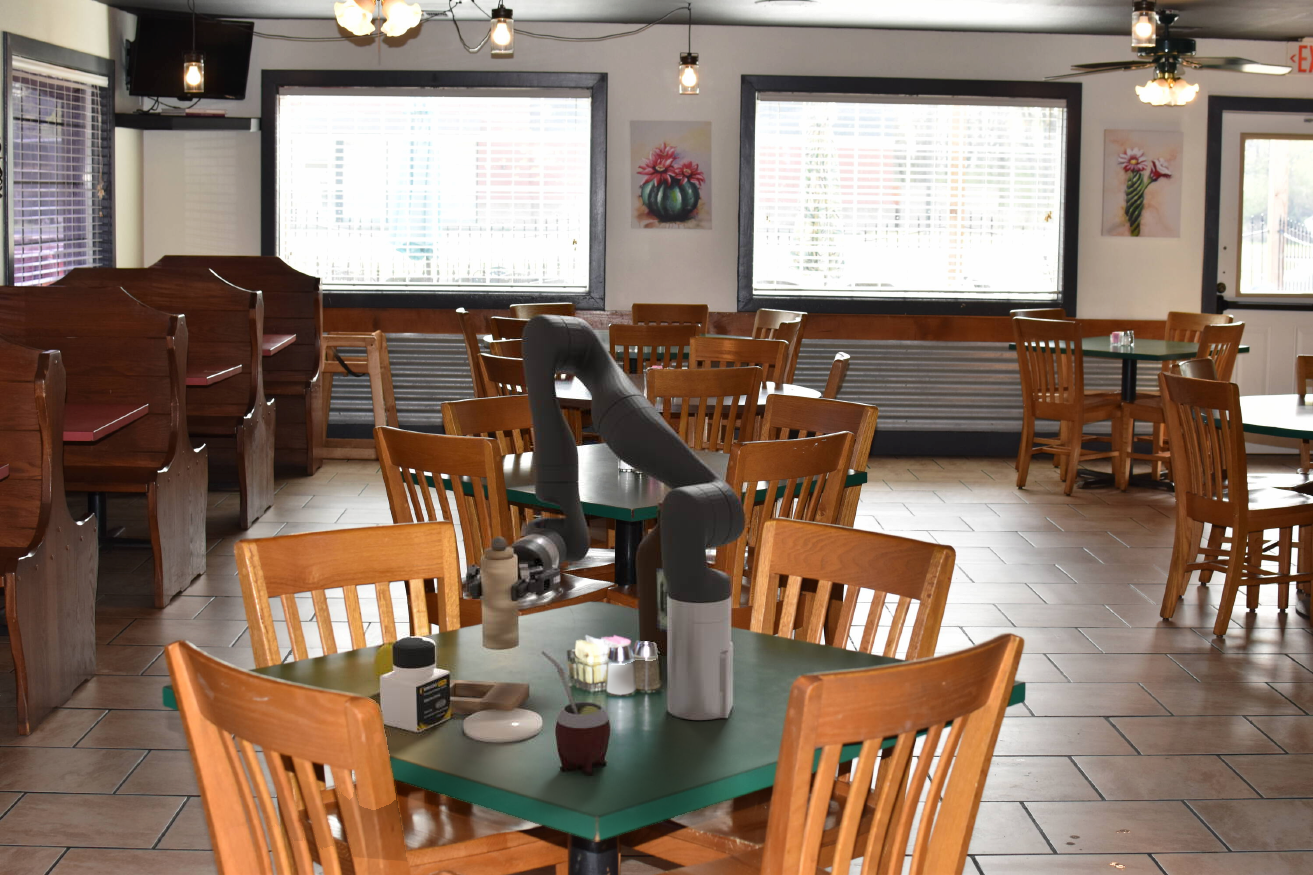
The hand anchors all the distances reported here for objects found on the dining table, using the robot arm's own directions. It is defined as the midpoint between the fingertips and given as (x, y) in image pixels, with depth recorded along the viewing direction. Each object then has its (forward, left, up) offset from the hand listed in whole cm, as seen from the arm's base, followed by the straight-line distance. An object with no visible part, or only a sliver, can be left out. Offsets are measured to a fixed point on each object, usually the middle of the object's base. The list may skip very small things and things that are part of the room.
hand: (494, 593), depth 180 cm
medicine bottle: (+13, -3, -20) cm, 24 cm away
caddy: (+6, -12, -20) cm, 24 cm away
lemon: (+21, -15, -20) cm, 33 cm away
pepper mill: (0, -3, -8) cm, 8 cm away
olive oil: (-16, -45, -20) cm, 52 cm away
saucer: (0, -3, -20) cm, 20 cm away
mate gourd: (-14, +9, -20) cm, 26 cm away
